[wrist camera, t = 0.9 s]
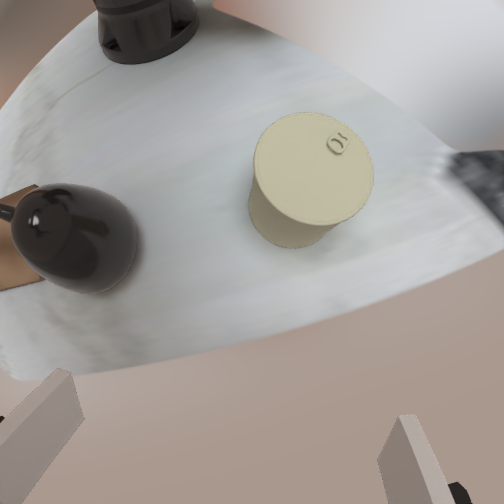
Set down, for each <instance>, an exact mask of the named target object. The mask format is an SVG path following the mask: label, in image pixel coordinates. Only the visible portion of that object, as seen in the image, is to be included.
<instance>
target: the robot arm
mask: <svg viewBox="0 0 504 504" xmlns="http://www.w3.org/2000/svg"><path fill="white" fill-rule="evenodd" d="M93 1H94V3H95V5H96V8H97V10H98V33H99V43H100V46H101V47H102V49H103V51H104V53H105V55H106V56H107V57H108V58H109V59H111V60H112V61H115V62H118V63H123V64H137V63H144V62H148V61H152V60H155V59H158V58H161V57H163V56H166V55H168V54H170V53H172V52H174V51H175V50H177V49H179V48H180V47H182V46H183V45H184V44H185V43H187V42H188V41H189V40H190V39H191V38H192V36H193V35H194V34H195V32H196V30H197V28H198V24H199V19H198V12H197V8H196V6H195V4H194V2H193V1H192V0H93ZM83 421H84V416H83V412H82V409H81V406H80V403H79V400H78V396H77V392H76V389H75V385H74V382H73V378H72V374H71V372H68V371H65V370H62V369H59V368H57V369H56V370H55V371H54V372H53V373H52V374H51V375H50V376H49V377H48V378H47V379H45V380H44V381H43V382H42V383H41V384H40V385H39V386H38V387H37V388H36V389H35V390H34V391H33V392H32V393H31V394H30V395H29V396H27V397H26V398H25V399H24V400H23V401H22V402H21V403H20V404H19V405H18V406H17V407H16V408H15V409H14V410H13V411H12V412H11V413H10V414H9V415H8V416H7V417H6V418H4V417H3V416H0V504H22V502H23V501H24V500H25V498H26V497H27V496H28V494H29V493H30V492H31V490H32V489H33V487H34V486H35V485H36V483H37V482H38V481H39V479H40V478H41V476H42V475H43V474H44V472H45V471H46V470H47V468H48V467H49V466H50V464H51V463H52V461H53V460H54V459H55V458H56V456H57V455H58V453H59V452H60V451H61V449H62V448H63V447H64V445H65V444H66V443H67V442H68V440H69V439H70V437H71V436H72V435H73V434H74V432H75V431H76V430H77V428H78V427H79V426H80V424H81V423H82V422H83ZM377 461H378V465H379V469H380V473H381V476H382V480H383V484H384V488H385V492H386V495H387V499H388V504H472V503H471V500H470V497H469V495H468V493H467V490H466V489H465V488H464V487H463V486H462V485H461V484H459V483H458V482H455V483H451V484H447V483H446V480H445V478H444V476H443V473H442V471H441V468H440V466H439V464H438V462H437V460H436V457H435V455H434V453H433V451H432V449H431V446H430V444H429V442H428V440H427V438H426V436H425V434H424V432H423V429H422V427H421V425H420V424H419V421H418V419H417V417H416V415H415V414H412V415H399V416H398V418H397V420H396V422H395V425H394V426H393V428H392V431H391V433H390V435H389V437H388V439H387V441H386V443H385V445H384V447H383V449H382V451H381V453H380V455H379V456H378V459H377Z"/></svg>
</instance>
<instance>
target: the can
mask: <svg viewBox="0 0 504 504" xmlns="http://www.w3.org/2000/svg"><path fill="white" fill-rule="evenodd" d="M373 176H374V175H373V165H372V161H371V158H370V155H369V152H368V150H367V148H366V147H365V145H364V143H363V142H362V140H361V139H360V138H359V137H358V136H357V134H356V133H355V132H354V131H353V130H351V129H350V128H349V127H348V126H346V125H345V124H343V123H342V122H340V121H338V120H336V119H334V118H332V117H329V116H327V115H323V114H318V113H310V112H304V113H296V114H291V115H288V116H285V117H283V118H281V119H279V120H277V121H276V122H274V123H273V124H272V125H270V126H269V127H268V128H267V129H266V130H265V131H264V133H263V134H262V136H261V137H260V139H259V141H258V143H257V146H256V149H255V153H254V175H253V183H252V189H251V192H250V196H249V203H248V205H249V213H250V217H251V220H252V222H253V224H254V226H255V228H256V229H257V230H258V232H259V233H260V234H261V235H262V236H263V237H264V238H265V239H267V240H268V241H270V242H271V243H273V244H276V245H278V246H281V247H285V248H301V247H305V246H308V245H310V244H312V243H314V242H316V241H317V240H319V239H320V238H321V237H322V236H323V235H324V234H325V233H326V232H327V231H329V230H330V229H332V228H333V227H335V226H336V225H338V224H339V223H341V222H343V221H346V220H348V219H349V218H351V217H353V216H354V215H355V214H356V213H358V212H359V211H360V210H361V208H362V207H363V206H364V205H365V203H366V202H367V200H368V198H369V196H370V193H371V190H372V186H373Z"/></svg>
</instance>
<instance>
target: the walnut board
mask: <svg viewBox="0 0 504 504" xmlns="http://www.w3.org/2000/svg"><path fill="white" fill-rule="evenodd" d="M38 187H39V186H37V185H35V184H34V185H31V186H29V187H26V188H24V189H22V190H19V191H17V192H15V193H13V194H10V195H8V196H6V197H4V198H2V199H0V203H3V204H7V205H11V206H15V207H16V205H17V203H18V202H19V201H20V199H21V198H22V197H23V196H24V195H25V194H27V193H28V192H30V191H31V190H33V189H35V188H38ZM43 280H45V278H43V277H42V276H40V275H39V274H37V273H36V272H35V271H34V270H32V269H31V268H30V267H29V266H28V265H27V264H26V263H25V262H24V261H23V259H22V258H21V257H20V255H19V254H18V252H17V250H16V248H15V246H14V244H13V242H12V238H11V232H10V223H9V222H6V221H4V220H2V219H0V291H3V290H7V289H11V288H15V287H19V286H23V285H27V284H30V283H35V282H39V281H43Z"/></svg>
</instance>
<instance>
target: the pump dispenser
mask: <svg viewBox="0 0 504 504" xmlns="http://www.w3.org/2000/svg"><path fill="white" fill-rule="evenodd" d="M0 219H2V220H4V221H6V222H9V223H10V232H11V238H12V242H13V244H14V246H15V248H16V250H17V252H18V254H19V255H20V257H21V258H22V259H23V261H24V262H25V263H26V264H27V265H28V266H29V267H30V268H31V269H32V270H34V271H35V272H36V273H37V274H39V275H40V276H42V277H43V278H45V279H46V280H48V281H50V282H51V283H53V284H55V285H57V286H59V287H62V288H64V289H67V290H70V291H73V292H76V293H81V294H97V293H101V292H104V291H107V290H109V289H110V288H112V287H114V286H115V285H116V284H117V283H119V282H120V281H121V280H122V278H123V277H124V276H125V275H126V273H127V272H128V270H129V268H130V266H131V264H132V262H133V259H134V256H135V251H136V245H137V234H136V227H135V223H134V220H133V218H132V216H131V214H130V212H129V210H128V209H127V208H126V206H125V205H124V204H123V203H122V202H121V201H119V200H118V199H117V198H115V197H114V196H112V195H110V194H108V193H106V192H104V191H101V190H98V189H95V188H92V187H88V186H83V185H77V184H66V183H57V184H48V185H44V186H41V187H38V188H35V189H33V190H31V191H30V192H28V193H27V194H25V195H24V196H23V197H22V198H21V199H20V201H19V202H18V203H17V205H16V207H15V206H11V205H7V204H3V203H0Z"/></svg>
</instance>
